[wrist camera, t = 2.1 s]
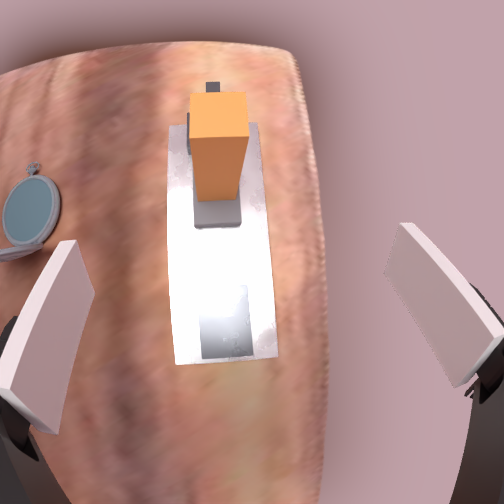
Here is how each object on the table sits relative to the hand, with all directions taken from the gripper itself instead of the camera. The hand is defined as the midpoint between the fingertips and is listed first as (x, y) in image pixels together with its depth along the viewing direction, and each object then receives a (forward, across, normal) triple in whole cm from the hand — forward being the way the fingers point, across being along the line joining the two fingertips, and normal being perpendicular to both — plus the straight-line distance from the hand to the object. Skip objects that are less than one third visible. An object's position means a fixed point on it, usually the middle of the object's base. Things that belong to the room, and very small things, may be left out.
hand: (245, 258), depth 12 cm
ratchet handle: (+26, -1, -3) cm, 26 cm away
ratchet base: (+20, -1, -11) cm, 23 cm away
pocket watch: (+23, -26, -8) cm, 36 cm away
